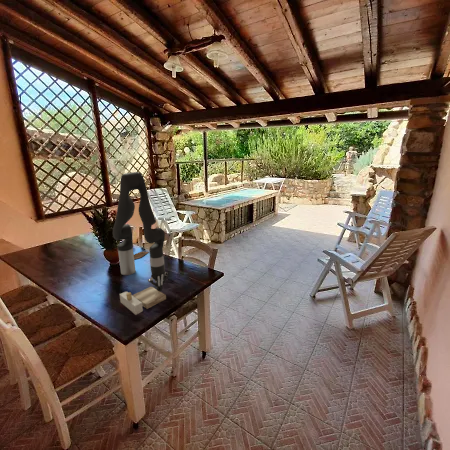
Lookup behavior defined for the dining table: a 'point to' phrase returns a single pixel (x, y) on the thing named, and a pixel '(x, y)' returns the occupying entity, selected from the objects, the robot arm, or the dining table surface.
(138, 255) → the wooden fragment
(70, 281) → the dining table surface
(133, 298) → the block
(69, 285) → the dining table surface
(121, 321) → the dining table surface
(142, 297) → the maple plate
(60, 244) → the dining table surface
